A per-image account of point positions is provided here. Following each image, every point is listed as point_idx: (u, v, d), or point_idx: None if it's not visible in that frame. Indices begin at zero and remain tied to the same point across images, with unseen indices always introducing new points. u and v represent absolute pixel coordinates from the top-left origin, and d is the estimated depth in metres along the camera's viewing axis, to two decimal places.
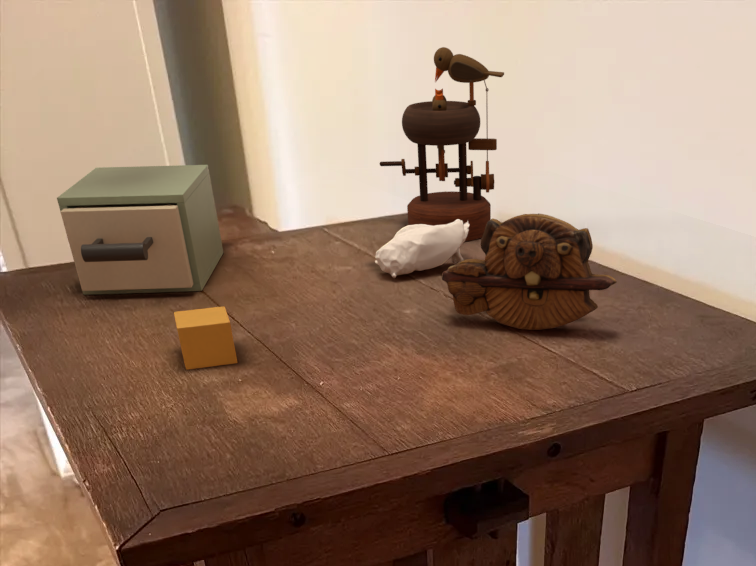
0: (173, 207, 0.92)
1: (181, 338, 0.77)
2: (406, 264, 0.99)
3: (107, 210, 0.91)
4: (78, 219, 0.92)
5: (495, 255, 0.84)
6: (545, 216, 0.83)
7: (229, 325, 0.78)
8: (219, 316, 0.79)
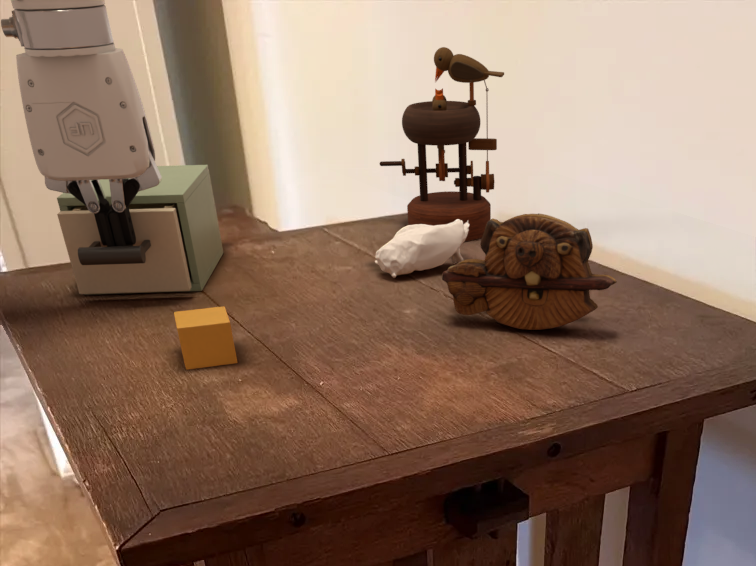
0: (171, 210, 0.91)
1: (181, 338, 0.77)
2: (406, 264, 0.99)
3: None
4: (75, 222, 0.91)
5: (495, 255, 0.84)
6: (545, 216, 0.83)
7: (229, 325, 0.78)
8: (219, 316, 0.79)
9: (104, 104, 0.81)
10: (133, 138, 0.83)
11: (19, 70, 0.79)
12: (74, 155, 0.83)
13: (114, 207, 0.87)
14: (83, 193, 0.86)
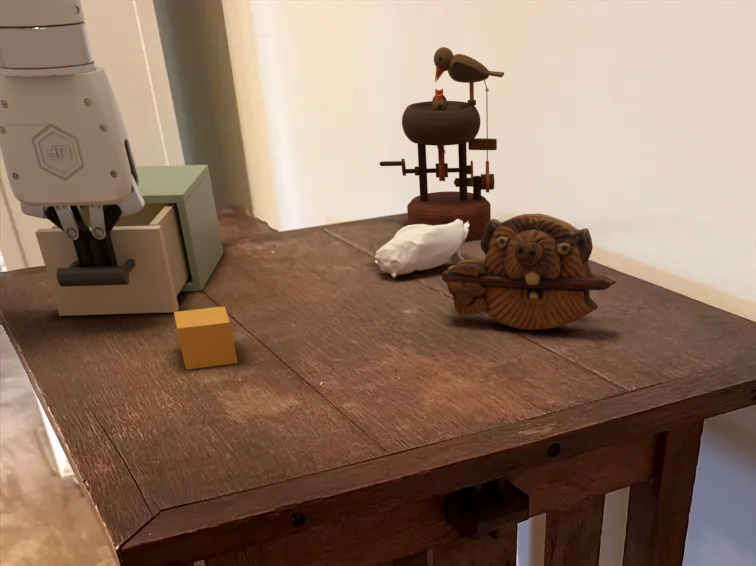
0: (156, 227, 0.86)
1: (181, 338, 0.77)
2: (406, 264, 0.99)
3: None
4: (54, 240, 0.86)
5: (495, 255, 0.84)
6: (545, 216, 0.83)
7: (229, 325, 0.78)
8: (219, 316, 0.79)
9: (83, 127, 0.76)
10: (114, 163, 0.78)
11: None
12: (51, 180, 0.78)
13: (94, 234, 0.83)
14: (61, 219, 0.82)
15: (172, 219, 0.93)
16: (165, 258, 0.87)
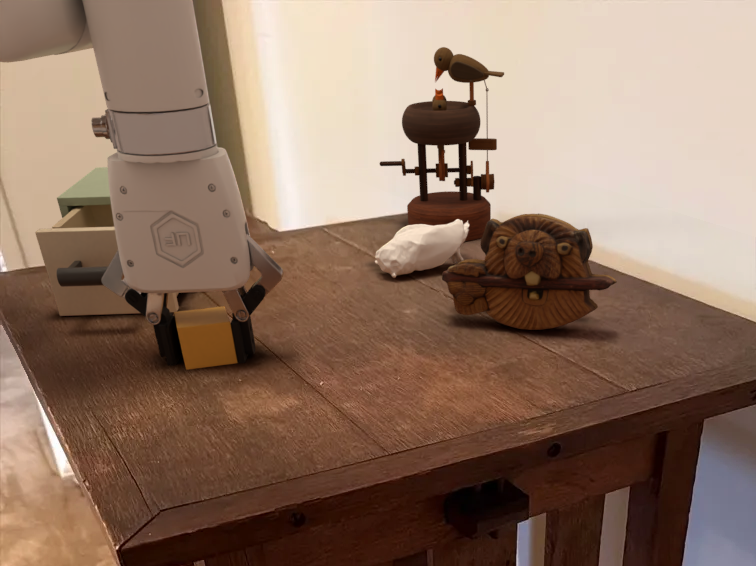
0: None
1: (181, 338, 0.77)
2: (406, 264, 0.99)
3: (85, 230, 0.85)
4: (54, 240, 0.86)
5: (495, 255, 0.84)
6: (545, 216, 0.83)
7: (229, 325, 0.78)
8: (220, 316, 0.79)
9: (205, 213, 0.71)
10: (235, 249, 0.73)
11: (111, 175, 0.70)
12: (167, 267, 0.73)
13: (237, 316, 0.78)
14: (149, 301, 0.76)
15: None
16: None
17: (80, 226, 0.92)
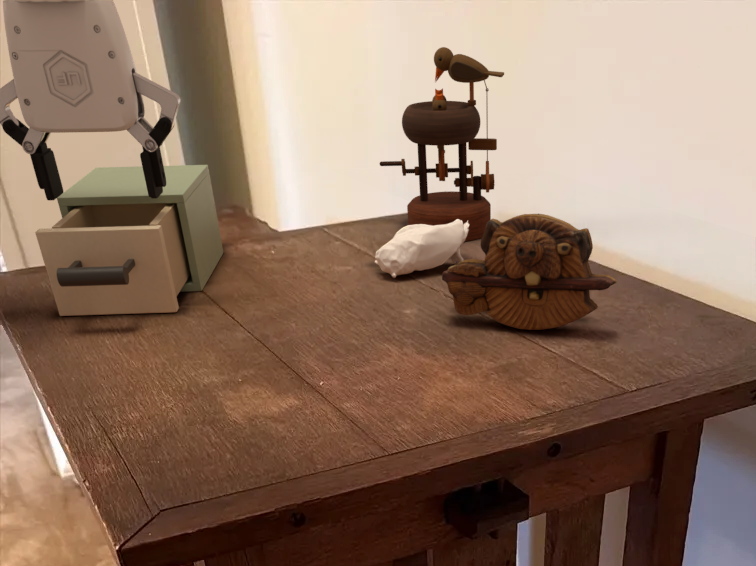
0: (156, 227, 0.86)
1: None
2: (406, 264, 0.99)
3: (85, 230, 0.85)
4: (54, 240, 0.86)
5: (495, 255, 0.84)
6: (545, 216, 0.83)
7: None
8: None
9: (92, 53, 0.79)
10: (121, 89, 0.81)
11: (5, 16, 0.78)
12: (61, 106, 0.81)
13: (146, 146, 0.85)
14: (30, 131, 0.84)
15: (172, 219, 0.93)
16: (165, 258, 0.87)
17: (80, 226, 0.92)
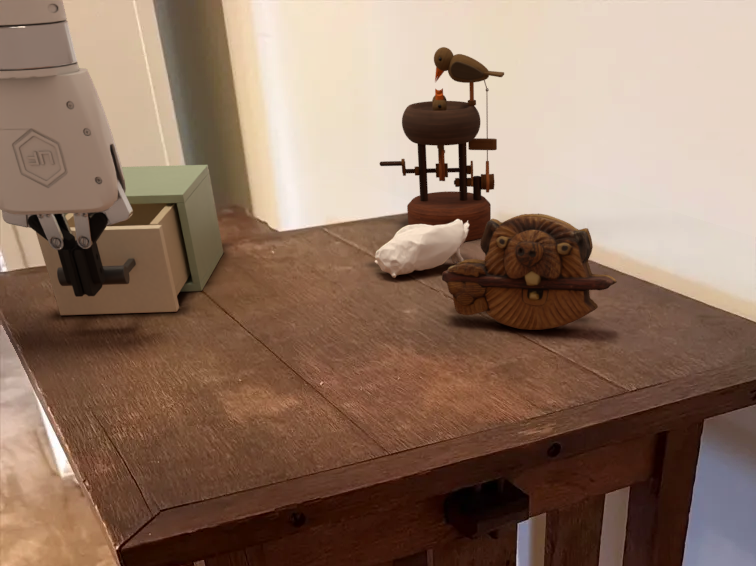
0: (156, 227, 0.86)
1: None
2: (406, 264, 0.99)
3: None
4: None
5: (495, 255, 0.84)
6: (545, 216, 0.83)
7: None
8: None
9: (65, 131, 0.72)
10: (99, 169, 0.74)
11: None
12: (33, 187, 0.74)
13: (79, 243, 0.79)
14: (44, 228, 0.78)
15: (172, 219, 0.93)
16: (165, 257, 0.87)
17: None
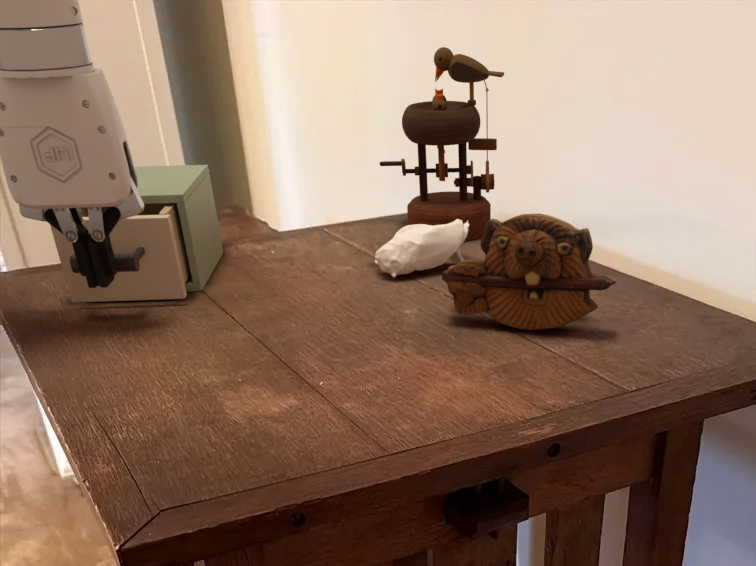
0: (165, 216, 0.89)
1: None
2: (406, 264, 0.99)
3: None
4: None
5: (495, 255, 0.84)
6: (545, 216, 0.83)
7: None
8: None
9: (81, 129, 0.76)
10: (112, 165, 0.77)
11: None
12: (49, 182, 0.78)
13: (93, 236, 0.82)
14: (60, 221, 0.81)
15: None
16: (174, 246, 0.91)
17: None
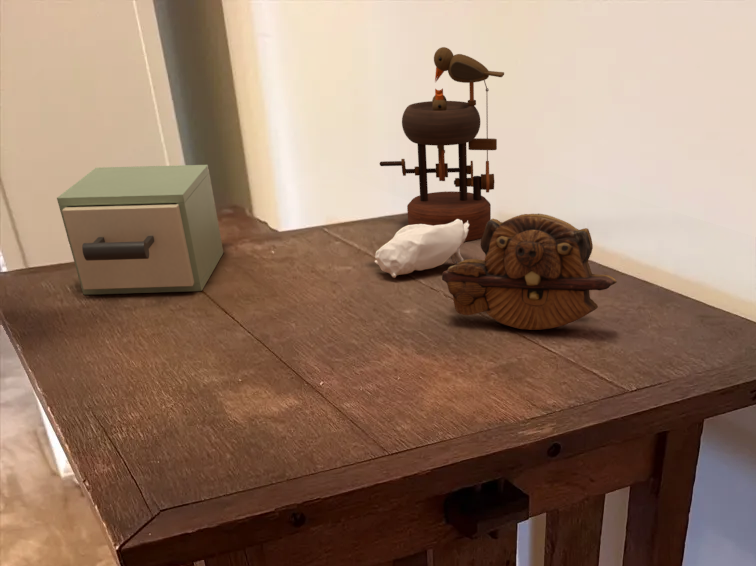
0: (174, 206, 0.92)
1: None
2: (406, 264, 0.99)
3: (108, 209, 0.92)
4: (79, 218, 0.92)
5: (495, 255, 0.84)
6: (545, 216, 0.83)
7: None
8: None
9: None
10: None
11: None
12: None
13: None
14: None
15: None
16: (182, 235, 0.94)
17: None
